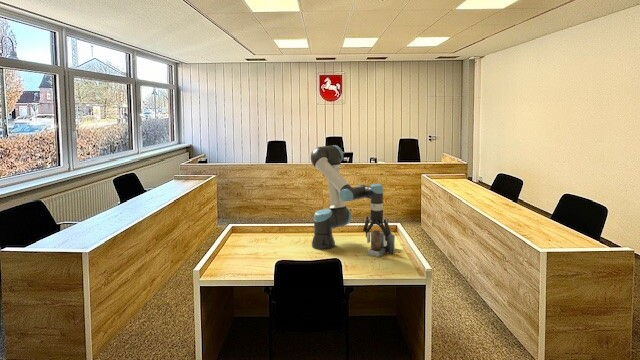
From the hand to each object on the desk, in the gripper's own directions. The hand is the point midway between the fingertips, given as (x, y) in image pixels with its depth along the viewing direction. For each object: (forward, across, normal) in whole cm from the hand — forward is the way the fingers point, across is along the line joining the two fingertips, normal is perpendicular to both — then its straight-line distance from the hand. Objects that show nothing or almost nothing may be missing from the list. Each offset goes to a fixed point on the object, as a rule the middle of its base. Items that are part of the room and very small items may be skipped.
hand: (376, 244), depth 326 cm
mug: (+7, -4, +14) cm, 16 cm away
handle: (+6, 0, 0) cm, 6 cm away
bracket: (+7, 0, +2) cm, 7 cm away
